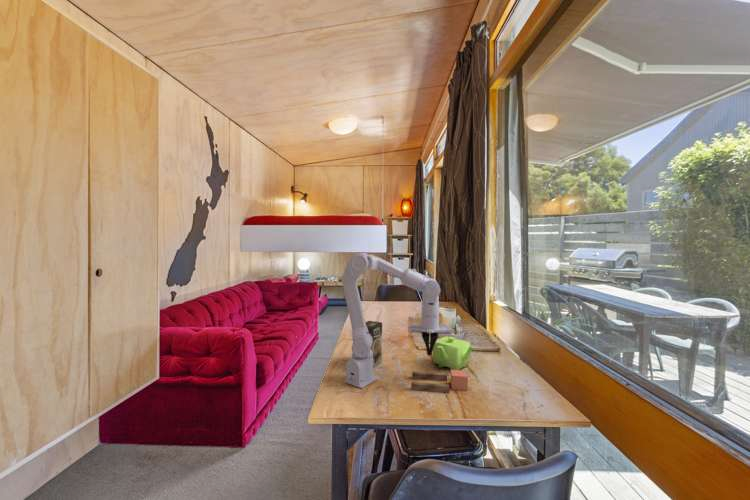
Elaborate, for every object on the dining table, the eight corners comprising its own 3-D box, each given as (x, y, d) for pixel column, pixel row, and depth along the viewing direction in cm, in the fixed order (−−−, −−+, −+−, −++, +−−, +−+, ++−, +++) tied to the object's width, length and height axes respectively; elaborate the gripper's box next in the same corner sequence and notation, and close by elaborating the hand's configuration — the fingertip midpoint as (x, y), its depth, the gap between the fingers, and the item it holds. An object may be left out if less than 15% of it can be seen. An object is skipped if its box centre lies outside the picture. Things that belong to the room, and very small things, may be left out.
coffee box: (370, 370, 123) (370, 327, 122) (355, 367, 127) (356, 325, 126) (382, 362, 131) (383, 322, 130) (368, 359, 134) (369, 319, 133)
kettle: (476, 374, 121) (477, 343, 120) (437, 375, 120) (438, 344, 119) (462, 358, 136) (463, 331, 135) (428, 359, 135) (428, 332, 134)
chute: (411, 390, 108) (411, 384, 108) (412, 376, 118) (412, 371, 118) (449, 392, 106) (449, 386, 106) (446, 379, 116) (446, 373, 116)
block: (451, 389, 109) (451, 375, 109) (450, 382, 114) (450, 369, 114) (467, 390, 108) (467, 376, 108) (465, 383, 113) (465, 370, 113)
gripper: (408, 316, 110) (407, 357, 110) (453, 318, 107) (452, 360, 108) (409, 311, 117) (408, 349, 117) (451, 313, 114) (450, 352, 115)
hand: (429, 354), depth 113 cm, fingers closed
